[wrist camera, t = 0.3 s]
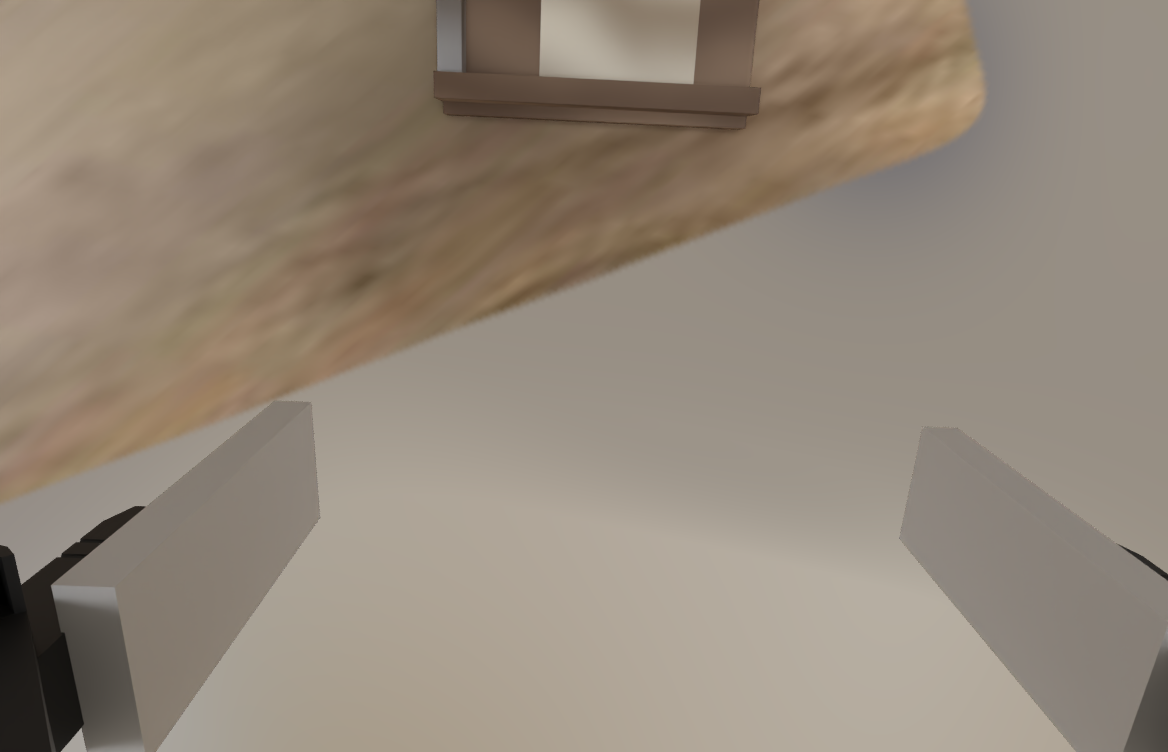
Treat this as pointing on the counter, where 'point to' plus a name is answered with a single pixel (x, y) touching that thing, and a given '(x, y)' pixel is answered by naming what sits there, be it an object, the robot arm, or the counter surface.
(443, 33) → the brown wooden tray
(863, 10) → the counter surface
